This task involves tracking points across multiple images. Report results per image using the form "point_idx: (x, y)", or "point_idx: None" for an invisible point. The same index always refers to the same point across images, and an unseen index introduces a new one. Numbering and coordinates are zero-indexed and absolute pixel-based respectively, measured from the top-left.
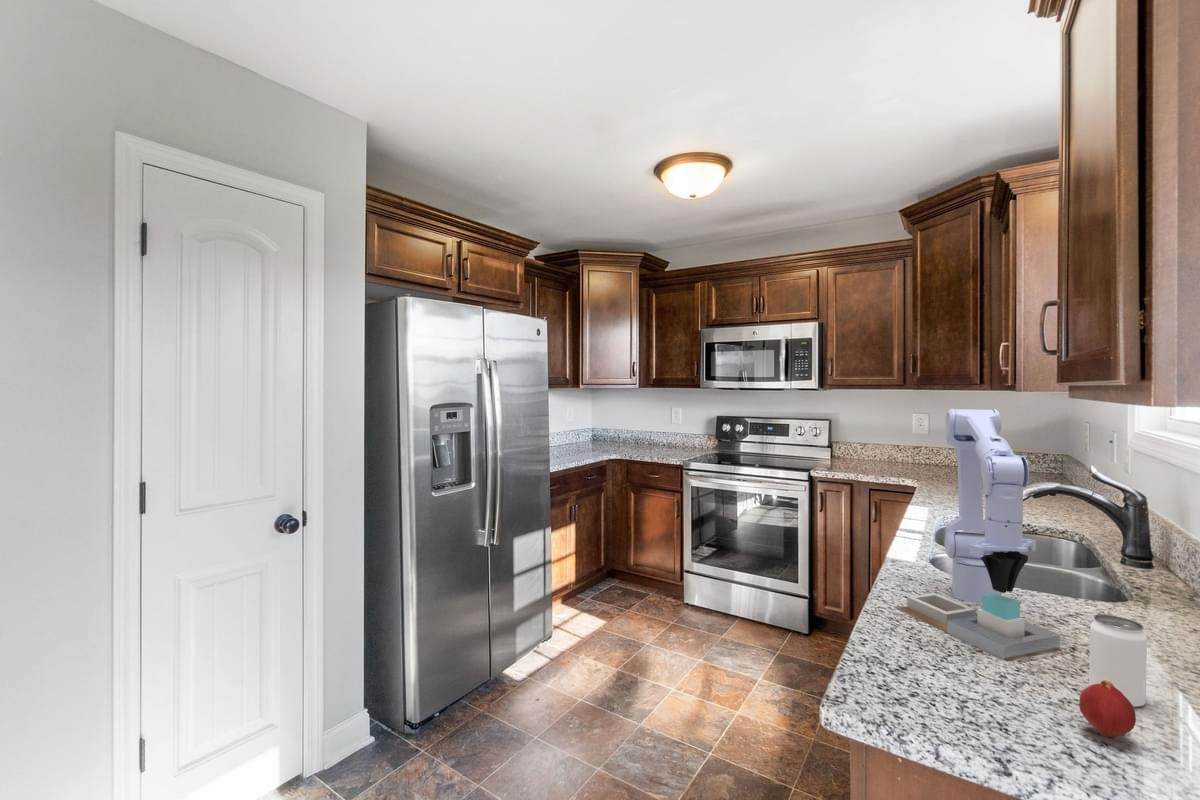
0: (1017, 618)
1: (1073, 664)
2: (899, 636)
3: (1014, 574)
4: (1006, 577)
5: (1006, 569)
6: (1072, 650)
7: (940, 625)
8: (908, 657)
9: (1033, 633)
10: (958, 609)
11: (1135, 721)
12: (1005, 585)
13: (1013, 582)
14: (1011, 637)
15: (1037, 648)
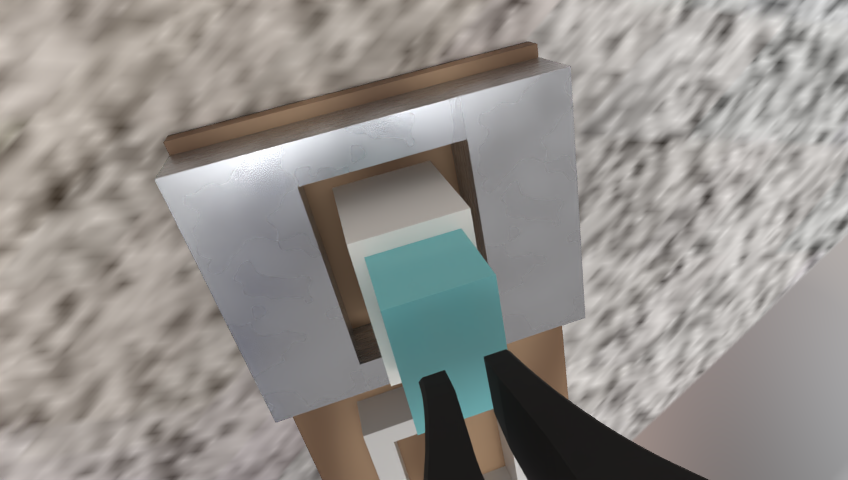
0: (381, 251)
1: (193, 32)
2: (699, 277)
3: (482, 477)
4: (571, 426)
5: (658, 477)
6: (78, 175)
7: (532, 344)
8: (801, 130)
9: (299, 200)
10: (398, 451)
11: None
12: (536, 378)
13: (451, 421)
14: (425, 181)
15: (332, 118)
